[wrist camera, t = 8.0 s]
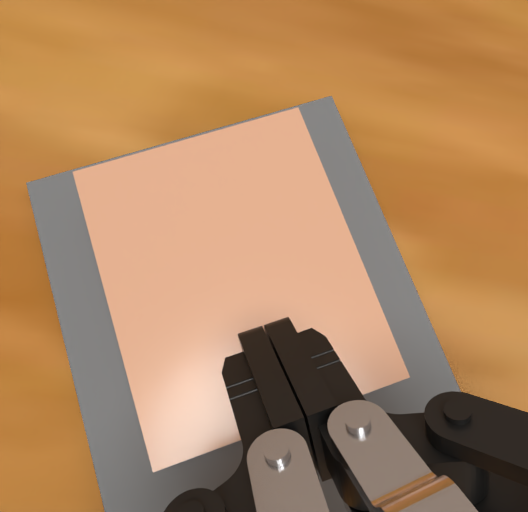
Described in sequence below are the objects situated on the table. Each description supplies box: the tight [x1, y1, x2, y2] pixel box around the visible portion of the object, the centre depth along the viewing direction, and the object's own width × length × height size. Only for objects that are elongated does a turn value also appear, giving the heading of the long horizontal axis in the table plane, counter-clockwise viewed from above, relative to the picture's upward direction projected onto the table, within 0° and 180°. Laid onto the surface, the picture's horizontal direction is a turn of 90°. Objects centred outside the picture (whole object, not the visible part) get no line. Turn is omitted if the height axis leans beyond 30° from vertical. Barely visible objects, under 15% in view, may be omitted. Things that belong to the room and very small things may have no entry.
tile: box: [73, 107, 410, 472], centre depth 19 cm, size 3×9×11 cm
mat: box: [26, 96, 461, 512], centre depth 20 cm, size 18×14×1 cm
